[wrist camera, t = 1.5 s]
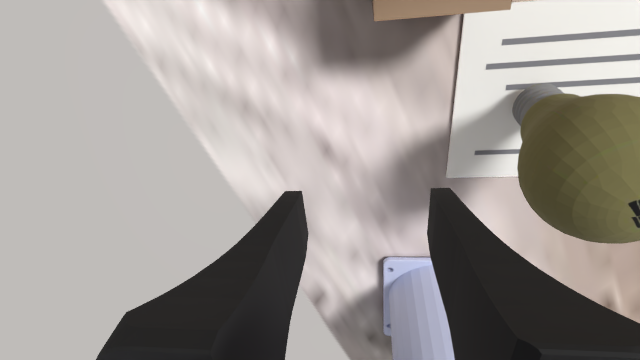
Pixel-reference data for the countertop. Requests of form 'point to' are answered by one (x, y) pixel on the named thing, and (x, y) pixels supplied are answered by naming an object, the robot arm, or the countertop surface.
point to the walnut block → (433, 8)
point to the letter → (534, 71)
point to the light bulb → (581, 161)
